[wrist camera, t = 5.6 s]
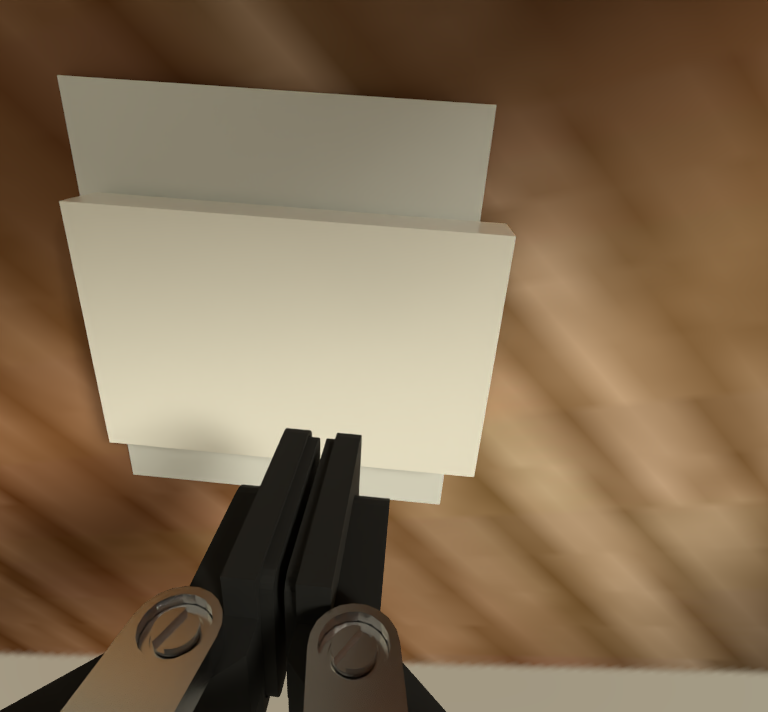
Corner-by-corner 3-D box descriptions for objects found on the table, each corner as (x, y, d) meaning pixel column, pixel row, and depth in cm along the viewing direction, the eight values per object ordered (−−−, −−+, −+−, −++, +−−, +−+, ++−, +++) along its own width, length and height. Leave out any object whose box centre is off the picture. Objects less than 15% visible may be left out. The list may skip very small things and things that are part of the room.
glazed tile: (516, 236, 15) (59, 200, 16) (473, 477, 19) (109, 442, 19) (504, 221, 17) (101, 190, 18) (469, 441, 21) (140, 410, 21)
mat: (494, 105, 16) (496, 104, 16) (439, 498, 23) (439, 504, 23) (65, 75, 16) (56, 74, 16) (137, 468, 23) (133, 474, 23)
